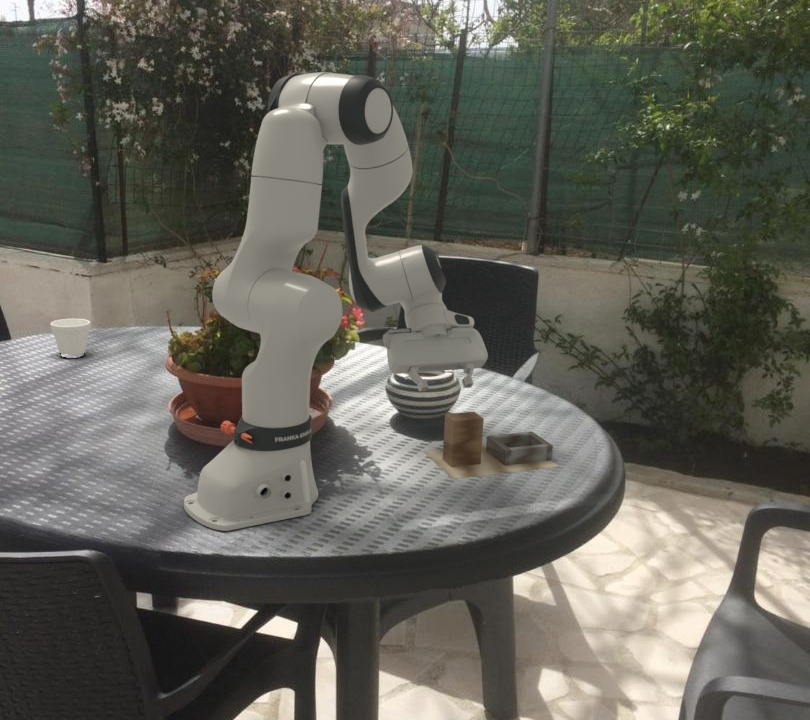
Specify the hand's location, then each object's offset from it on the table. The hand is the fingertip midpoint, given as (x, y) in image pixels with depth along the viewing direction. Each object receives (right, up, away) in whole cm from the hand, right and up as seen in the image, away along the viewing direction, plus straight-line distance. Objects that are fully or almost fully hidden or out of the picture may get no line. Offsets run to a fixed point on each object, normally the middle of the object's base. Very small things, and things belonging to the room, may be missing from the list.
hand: (446, 388), depth 161 cm
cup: (-97, +6, +62) cm, 116 cm away
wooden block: (+3, -14, -5) cm, 15 cm away
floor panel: (+8, -15, -2) cm, 17 cm away
